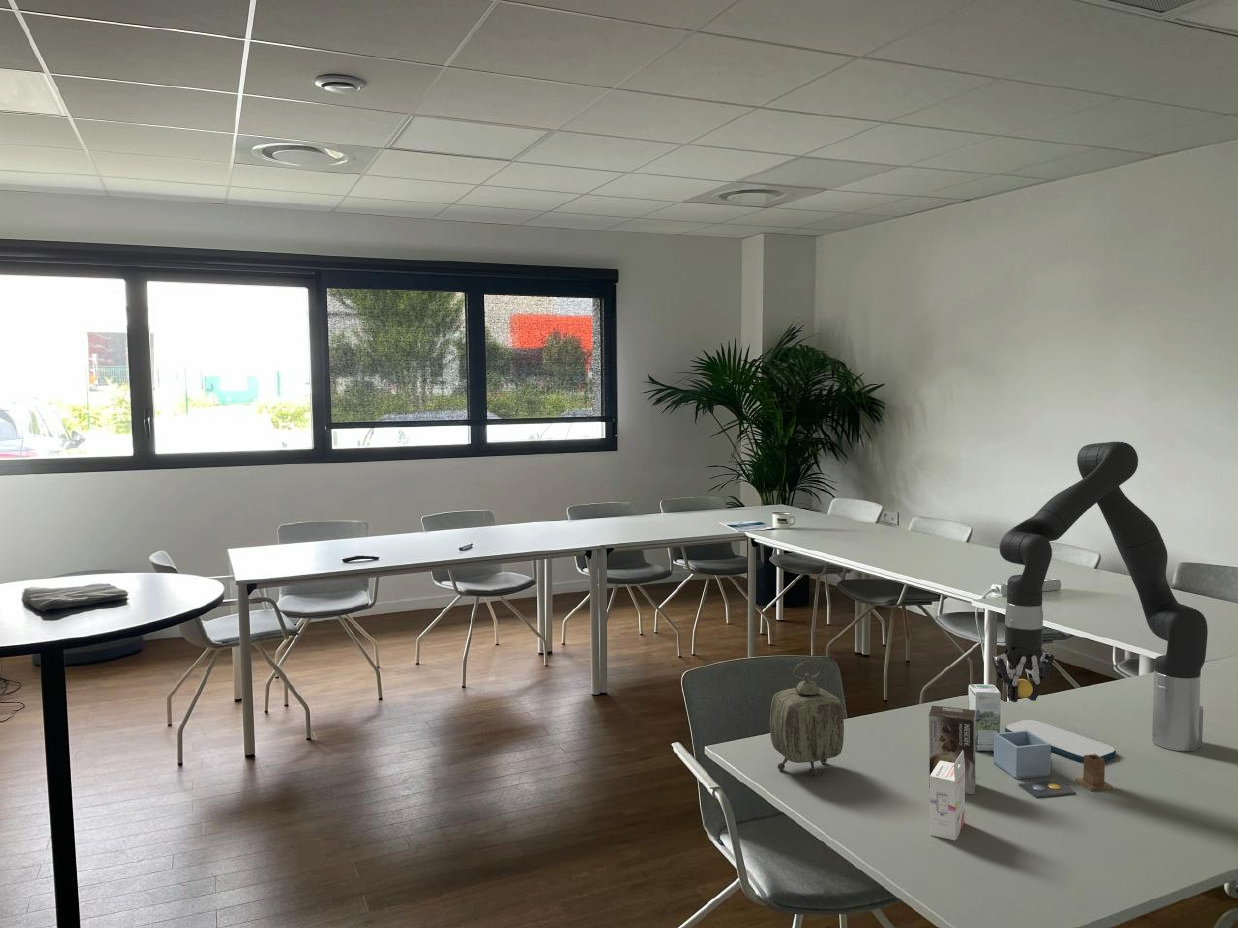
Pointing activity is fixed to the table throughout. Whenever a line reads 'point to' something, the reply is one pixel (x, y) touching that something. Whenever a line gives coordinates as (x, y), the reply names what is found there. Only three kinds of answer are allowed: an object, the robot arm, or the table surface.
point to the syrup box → (985, 714)
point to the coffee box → (953, 740)
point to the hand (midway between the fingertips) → (1022, 699)
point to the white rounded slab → (1064, 741)
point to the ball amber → (1024, 688)
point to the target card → (1046, 788)
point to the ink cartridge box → (947, 798)
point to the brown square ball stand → (1094, 773)
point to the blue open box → (1022, 754)
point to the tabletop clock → (806, 722)
